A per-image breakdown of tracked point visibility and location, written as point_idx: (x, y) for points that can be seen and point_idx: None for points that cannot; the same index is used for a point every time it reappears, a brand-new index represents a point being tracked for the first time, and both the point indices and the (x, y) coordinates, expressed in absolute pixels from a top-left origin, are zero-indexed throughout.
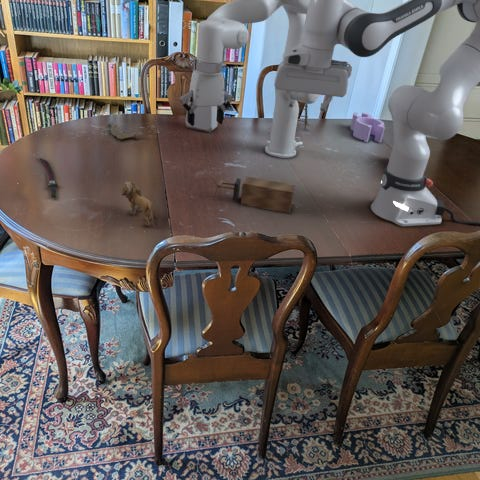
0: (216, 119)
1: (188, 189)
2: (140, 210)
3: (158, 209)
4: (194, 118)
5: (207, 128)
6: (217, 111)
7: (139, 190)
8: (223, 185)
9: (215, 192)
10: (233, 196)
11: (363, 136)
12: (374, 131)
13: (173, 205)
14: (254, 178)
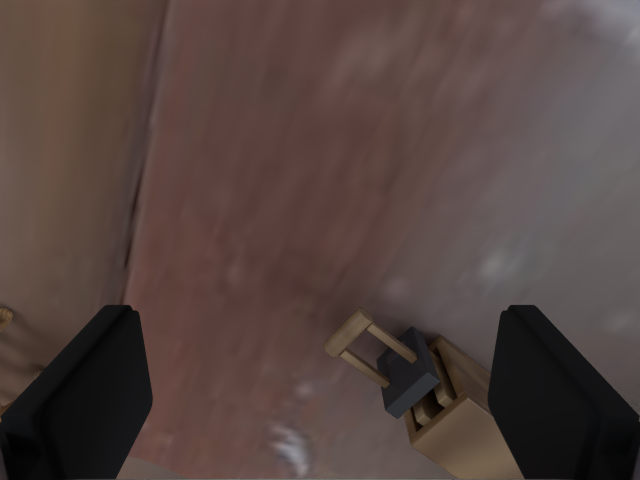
0: (509, 318)
1: (242, 208)
2: (9, 322)
3: (81, 322)
4: (117, 474)
5: None
6: (568, 406)
7: None
8: (352, 356)
9: (346, 267)
10: (378, 369)
11: None
12: None
13: (143, 312)
14: (491, 424)
